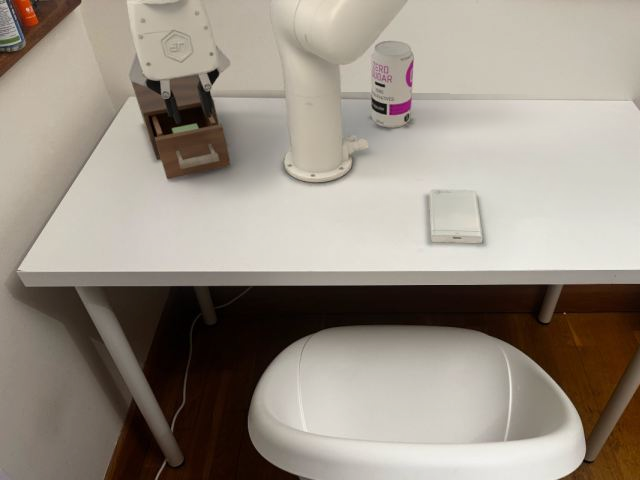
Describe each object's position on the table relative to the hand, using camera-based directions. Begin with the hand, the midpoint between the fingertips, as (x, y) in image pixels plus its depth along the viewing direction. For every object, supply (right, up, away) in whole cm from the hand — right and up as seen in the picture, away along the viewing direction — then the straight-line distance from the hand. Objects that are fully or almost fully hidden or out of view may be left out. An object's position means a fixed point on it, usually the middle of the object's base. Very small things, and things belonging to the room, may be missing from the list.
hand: (192, 115), depth 84 cm
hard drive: (+40, -14, +11) cm, 44 cm away
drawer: (-7, -2, +21) cm, 22 cm away
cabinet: (-12, +5, +29) cm, 32 cm away
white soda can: (+30, +10, +35) cm, 47 cm away
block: (-7, -1, +21) cm, 22 cm away
